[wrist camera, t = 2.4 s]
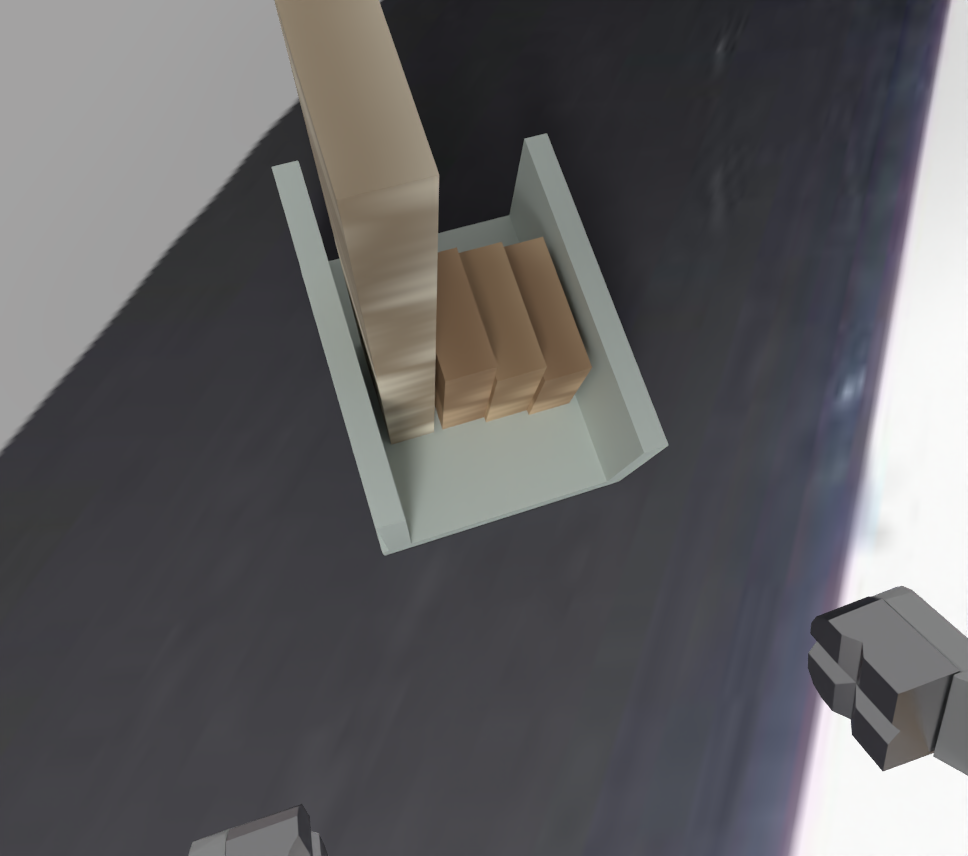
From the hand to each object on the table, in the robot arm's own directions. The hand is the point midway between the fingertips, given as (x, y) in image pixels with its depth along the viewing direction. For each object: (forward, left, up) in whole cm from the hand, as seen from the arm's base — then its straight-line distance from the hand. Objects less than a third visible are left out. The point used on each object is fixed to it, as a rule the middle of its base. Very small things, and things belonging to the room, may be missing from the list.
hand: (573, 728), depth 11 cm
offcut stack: (-6, -12, -21) cm, 24 cm away
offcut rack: (-5, -12, -22) cm, 26 cm away
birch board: (-2, -12, -21) cm, 24 cm away
